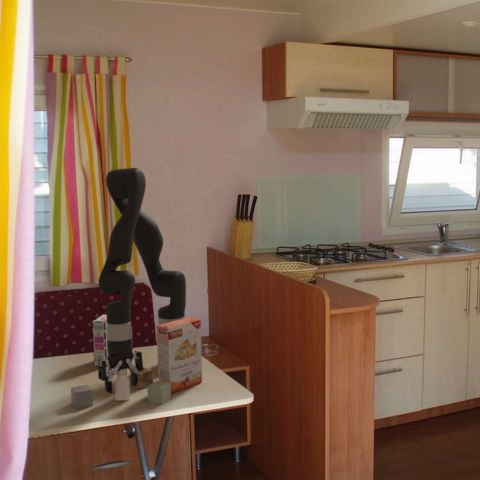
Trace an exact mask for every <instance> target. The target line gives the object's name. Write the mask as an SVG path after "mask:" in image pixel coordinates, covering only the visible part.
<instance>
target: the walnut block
mask: <svg viewBox="0 0 480 480" xmlns="http://www.w3.org/2000/svg"><path fill="white" fill-rule="evenodd" d="M129 373H130V377H131V373H132V372H131V371H130V370H129ZM153 382H154V370H153V369H151V368H147V367H143V370H142V371H139V372H138V384H137V386H132V385H131V384H130V387H131V388H132V387H133V388H137V389H141V390H144V389H147V386H149V385H150V384H152V383H153Z"/></svg>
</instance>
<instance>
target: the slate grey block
mask: <svg viewBox="0 0 480 480" xmlns="http://www.w3.org/2000/svg"><path fill="white" fill-rule="evenodd" d="M70 397H71V405H72V406H73V408H75V410H78V409H83V408H88V407H92V406H94V401H93V389H92V388H91V387H90V386H89V385H88V384H84V385H80V386H79V385H78V386H73V387H70Z"/></svg>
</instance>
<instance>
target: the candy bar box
mask: <svg viewBox="0 0 480 480" xmlns="http://www.w3.org/2000/svg"><path fill="white" fill-rule="evenodd" d="M91 323H92V342H93V343H92V344H93V366H94V367H95V368H98V361H99V360H100V359H101V360H106V359H108V352H107V333H106V329H107V315H106V314H102V315H100V316H99V317H97V318H96V319H94V320H92V322H91ZM107 367H109V364H107Z"/></svg>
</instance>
